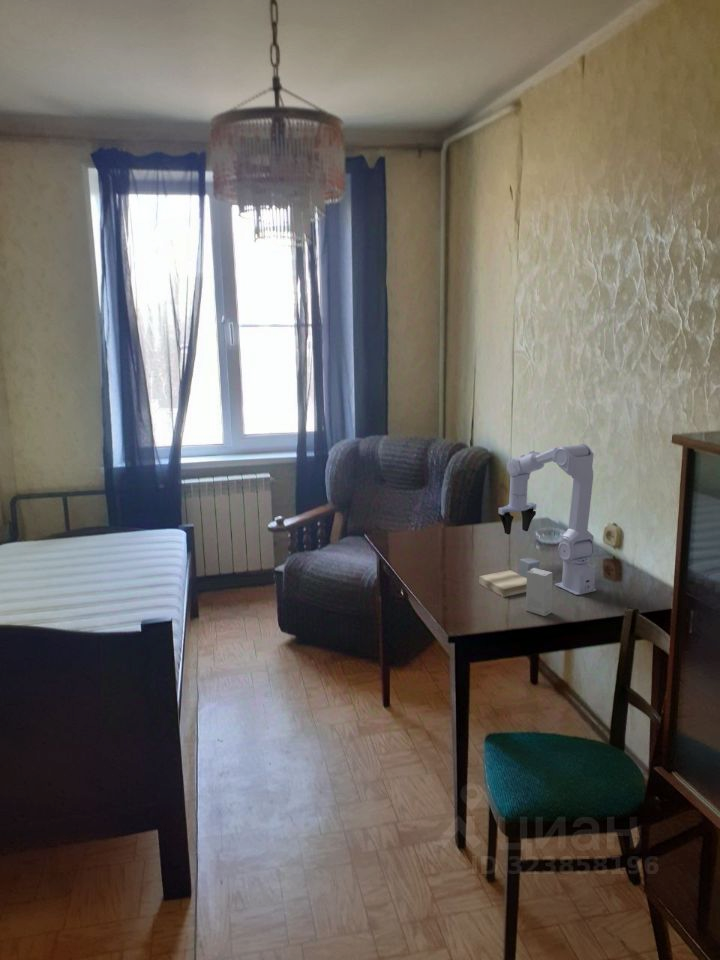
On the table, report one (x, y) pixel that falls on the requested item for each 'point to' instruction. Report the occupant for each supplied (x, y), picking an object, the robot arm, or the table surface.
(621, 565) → the table surface
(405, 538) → the table surface
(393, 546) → the table surface
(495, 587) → the birch base
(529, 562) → the slate block
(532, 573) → the skincare box
